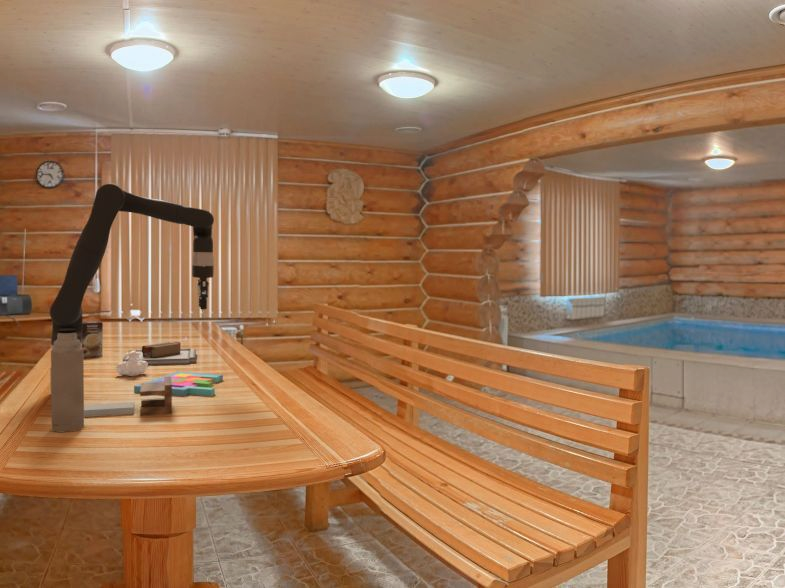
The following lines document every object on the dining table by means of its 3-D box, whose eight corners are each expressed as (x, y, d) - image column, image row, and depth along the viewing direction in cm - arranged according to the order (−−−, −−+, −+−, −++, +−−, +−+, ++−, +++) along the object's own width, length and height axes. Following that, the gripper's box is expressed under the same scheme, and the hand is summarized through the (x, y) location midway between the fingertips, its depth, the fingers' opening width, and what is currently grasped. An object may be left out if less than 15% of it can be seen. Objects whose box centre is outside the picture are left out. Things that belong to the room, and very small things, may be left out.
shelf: (140, 415, 184) (140, 386, 183) (141, 405, 196) (141, 377, 195) (171, 413, 187) (171, 384, 187) (170, 403, 199) (170, 376, 199)
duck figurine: (116, 382, 239) (119, 362, 233) (113, 368, 244) (116, 348, 237) (148, 379, 246) (152, 360, 240) (144, 365, 250) (148, 346, 244)
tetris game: (134, 393, 214) (206, 399, 208) (134, 385, 214) (206, 391, 208) (177, 378, 241) (242, 383, 236) (177, 371, 241) (242, 376, 236)
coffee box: (81, 357, 278) (81, 323, 277) (78, 355, 283) (77, 321, 282) (103, 356, 284) (102, 322, 283) (99, 354, 289) (99, 320, 288)
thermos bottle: (46, 428, 169) (45, 328, 167) (76, 422, 175) (75, 326, 173) (58, 434, 164) (57, 331, 162) (89, 428, 170) (88, 329, 168)
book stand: (130, 356, 290) (130, 340, 289) (195, 354, 299) (195, 339, 298) (122, 367, 261) (122, 350, 261) (195, 365, 270) (195, 348, 270)
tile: (82, 418, 181) (82, 410, 181) (85, 412, 188) (85, 404, 187) (133, 415, 186) (133, 407, 186) (134, 409, 193) (134, 401, 192)
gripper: (191, 264, 229) (191, 306, 230) (193, 264, 216) (193, 310, 217) (211, 264, 231) (211, 306, 232) (215, 265, 218) (214, 309, 219)
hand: (202, 308), depth 225 cm, fingers open, 8 cm apart
